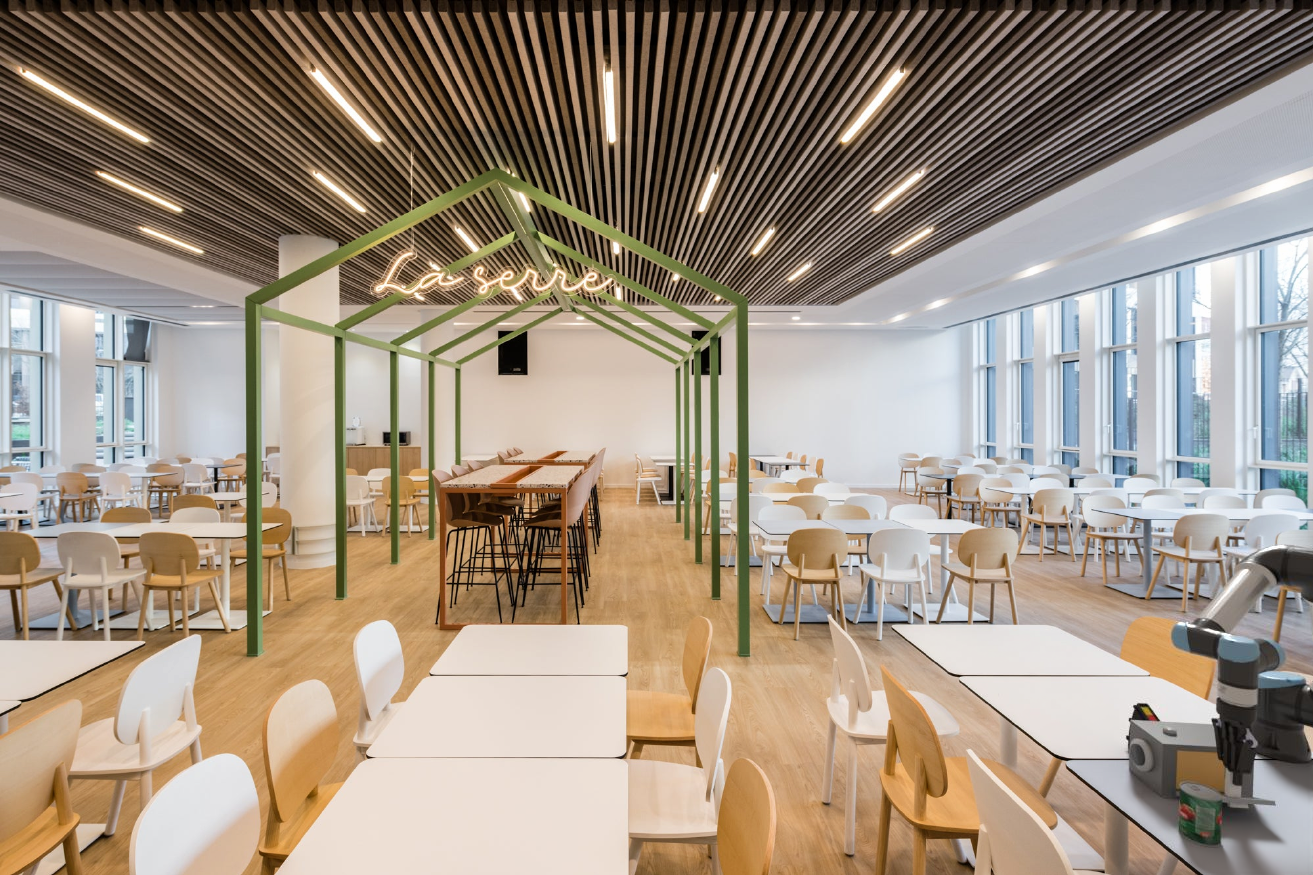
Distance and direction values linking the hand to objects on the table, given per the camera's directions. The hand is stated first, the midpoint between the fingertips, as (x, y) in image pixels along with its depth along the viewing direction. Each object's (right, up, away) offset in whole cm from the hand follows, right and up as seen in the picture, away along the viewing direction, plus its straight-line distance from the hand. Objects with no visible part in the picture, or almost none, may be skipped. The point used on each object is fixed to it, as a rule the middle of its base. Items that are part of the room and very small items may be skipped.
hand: (1232, 795), depth 164 cm
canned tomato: (-14, -6, -7) cm, 16 cm away
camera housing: (+1, -6, +16) cm, 17 cm away
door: (+1, -4, +8) cm, 9 cm away
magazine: (+1, -6, +30) cm, 31 cm away
